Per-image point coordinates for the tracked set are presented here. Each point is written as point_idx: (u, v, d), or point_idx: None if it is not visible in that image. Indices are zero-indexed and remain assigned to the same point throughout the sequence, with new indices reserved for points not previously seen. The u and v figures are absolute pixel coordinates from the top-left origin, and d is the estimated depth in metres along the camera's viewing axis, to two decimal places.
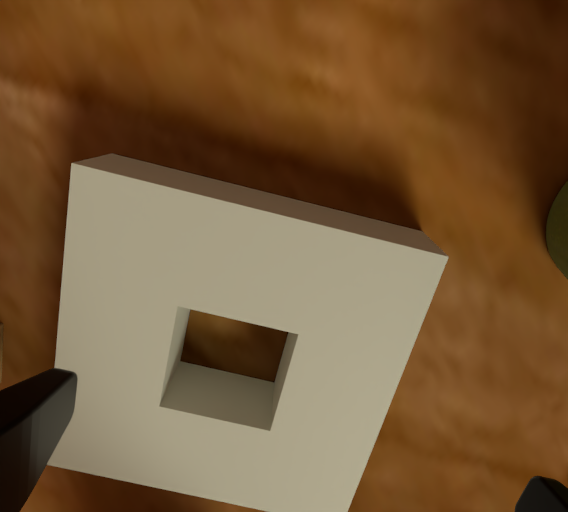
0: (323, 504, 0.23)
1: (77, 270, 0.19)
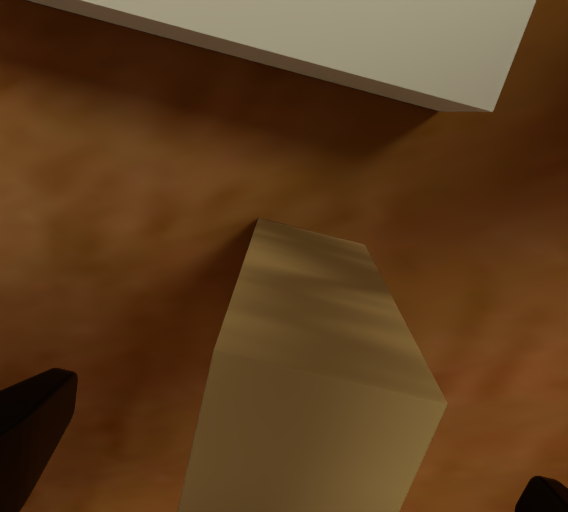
0: None
1: None
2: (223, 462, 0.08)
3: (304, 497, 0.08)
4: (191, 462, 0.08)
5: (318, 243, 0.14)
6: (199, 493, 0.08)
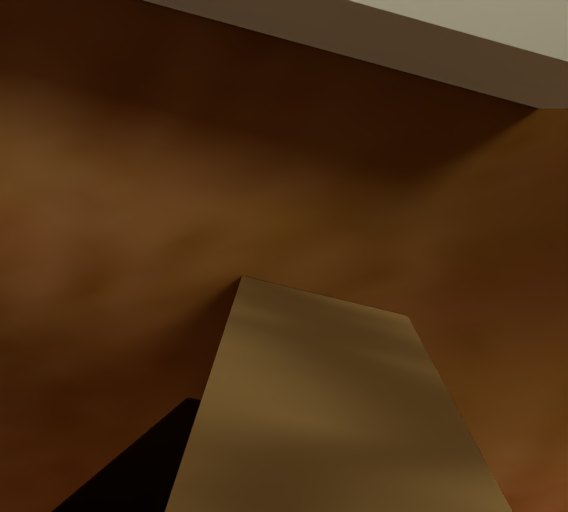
0: None
1: None
2: None
3: None
4: None
5: (338, 326, 0.09)
6: None
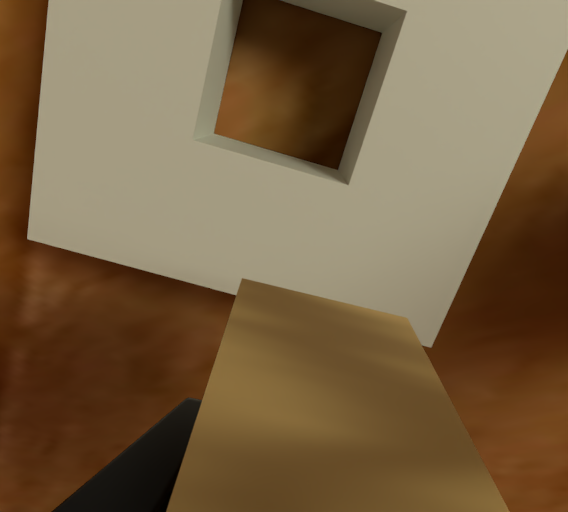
0: None
1: (152, 256, 0.16)
2: None
3: None
4: None
5: (337, 328, 0.09)
6: None
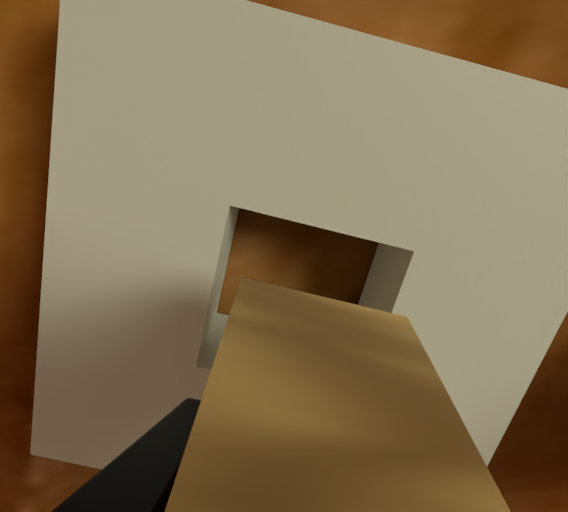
0: None
1: None
2: None
3: None
4: None
5: (337, 327, 0.09)
6: None
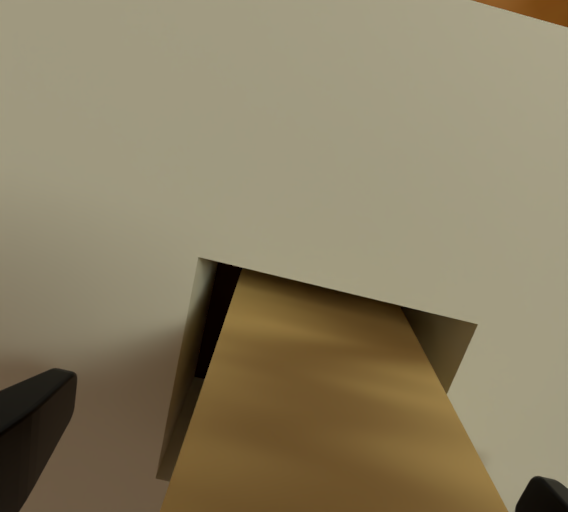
0: None
1: None
2: None
3: None
4: None
5: None
6: None
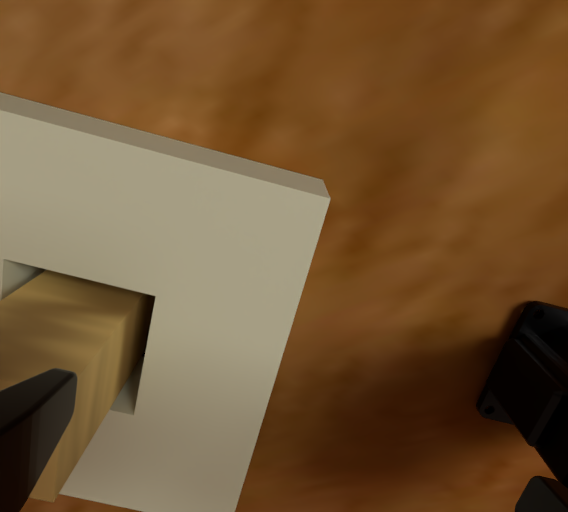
0: (284, 226, 0.15)
1: None
2: None
3: None
4: None
5: None
6: None
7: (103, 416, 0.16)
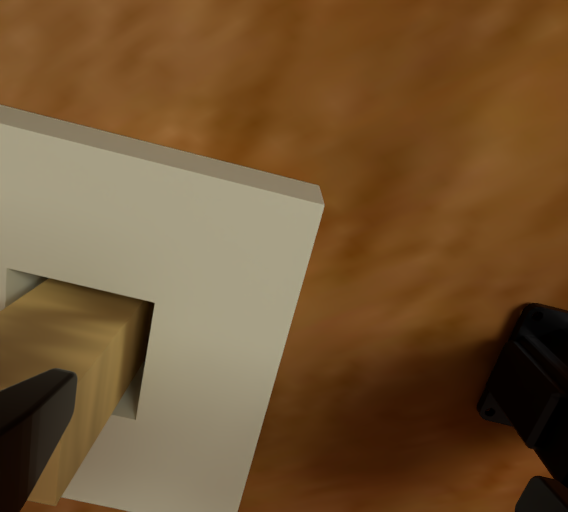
0: (279, 232, 0.15)
1: None
2: None
3: None
4: None
5: None
6: None
7: (105, 421, 0.16)
